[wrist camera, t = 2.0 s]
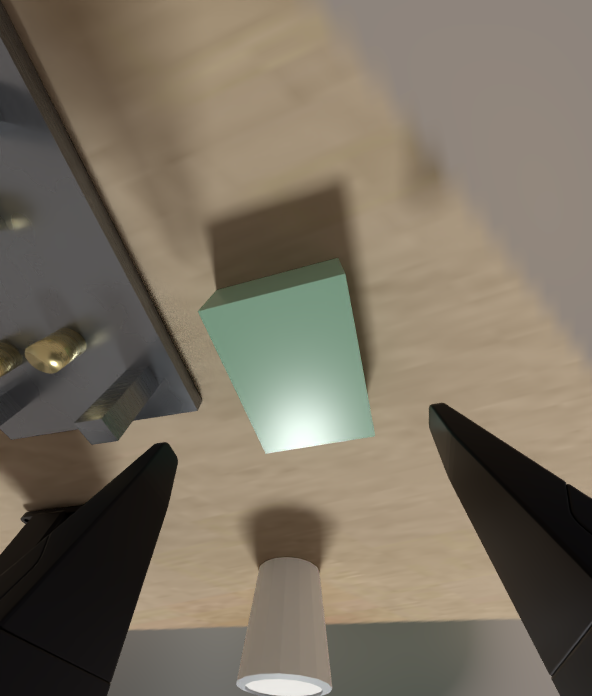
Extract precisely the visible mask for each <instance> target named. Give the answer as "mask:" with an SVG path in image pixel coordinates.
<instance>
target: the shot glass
mask: <svg viewBox="0 0 592 696" xmlns="http://www.w3.org/2000/svg"><path fill="white" fill-rule="evenodd" d="M237 686H238V687H239V688H241V689H242V690H244V691H247V692H250V693H252V694H255V695H259V696H322V695H325V694H328V693H329V692H330V691H331V689H332V682H331V674H330V664H329V655H328V645H327V636H326V627H325V618H324V609H323V600H322V591H321V581H320V572H319V570H318V568H317V566H315V565H314V564H312V563H311V562H309V561H306V560H303V559H300V558H292V557H281V558H273V559H271V560H268V561H265V562H264V563H263V564H262V565H261V566H260V568H259V573H258V578H257V583H256V588H255V593H254V598H253V603H252V608H251V613H250V618H249V623H248V628H247V633H246V638H245V643H244V649H243V653H242V658H241V664H240V668H239V673H238V679H237Z"/></svg>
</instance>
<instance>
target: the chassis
mask: <svg viewBox="0 0 592 696" xmlns="http://www.w3.org/2000/svg"><path fill="white" fill-rule="evenodd" d="M201 402H202V399H201V397H200V395H199V393H198V391H197V389H196V387H195V385H194V383H193V381H192V379H191V377H190V375H189V373H188V371H187V369H186V367H185V365H184V363H183V361H182V359H181V357H180V355H179V353H178V352H177V350H176V348H175V346H174V344H173V342H172V340H171V338H170V336H169V334H168V332H167V330H166V328H165V326H164V324H163V322H162V320H161V318H160V316H159V314H158V312H157V310H156V308H155V306H154V304H153V302H152V300H151V298H150V296H149V294H148V292H147V290H146V288H145V286H144V284H143V282H142V280H141V278H140V276H139V274H138V272H137V270H136V268H135V266H134V264H133V262H132V260H131V258H130V256H129V254H128V252H127V250H126V249H125V247H124V245H123V243H122V241H121V239H120V237H119V235H118V233H117V231H116V229H115V227H114V225H113V223H112V221H111V219H110V217H109V215H108V213H107V211H106V209H105V207H104V205H103V203H102V201H101V199H100V197H99V195H98V193H97V191H96V189H95V187H94V185H93V183H92V181H91V179H90V177H89V175H88V173H87V171H86V169H85V167H84V165H83V163H82V161H81V159H80V157H79V155H78V153H77V151H76V149H75V147H74V146H73V144H72V142H71V140H70V138H69V136H68V134H67V132H66V130H65V128H64V126H63V124H62V122H61V120H60V118H59V116H58V114H57V112H56V110H55V108H54V106H53V104H52V102H51V100H50V98H49V96H48V94H47V92H46V90H45V88H44V86H43V84H42V82H41V80H40V78H39V76H38V74H37V72H36V70H35V68H34V66H33V64H32V62H31V60H30V58H29V56H28V54H27V52H26V50H25V48H24V46H23V44H22V43H21V41H20V39H19V37H18V35H17V33H16V31H15V29H14V27H13V25H12V23H11V21H10V19H9V17H8V15H7V13H6V11H5V9H4V7H3V5H2V3H1V1H0V429H1V430H2V431H3V432H4V433H5V434H6V435H7V436H8V437H9V438H10V439H11V440H12V439H19V438H25V437H32V436H38V435H44V434H51V433H57V432H64V431H70V430H76V429H79V430H80V432H81V433H82V434H83V435H84V436H85V437H86V439H87V440H88V441H89V442H90V443H91V445H93V444H100V443H107V442H113V441H118V440H119V439H120V437H121V436H122V435H123V433H124V432H125V431H126V429H127V428H128V427H129V425H130V424H131V423H132V421H134V420H141V419H147V418H153V417H160V416H166V415H173V414H179V413H185V412H192V411H198V409H199V407H200V405H201Z"/></svg>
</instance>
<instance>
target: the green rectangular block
mask: <svg viewBox="0 0 592 696" xmlns="http://www.w3.org/2000/svg"><path fill="white" fill-rule="evenodd" d="M198 313H199V315H200V317H201V319H202V321H203V323H204V325H205V327H206V329H207V331H208V334H209V336H210V338H211V340H212V342H213V344H214V346H215V348H216V350H217V352H218V355H219V357H220V359H221V361H222V363H223V365H224V367H225V369H226V371H227V373H228V375H229V378H230V380H231V382H232V384H233V386H234V388H235V390H236V392H237V394H238V396H239V399H240V401H241V403H242V405H243V407H244V409H245V411H246V413H247V415H248V417H249V420H250V422H251V424H252V426H253V428H254V430H255V432H256V434H257V436H258V438H259V441H260V443H261V445H262V447H263V449H264V451H265V453H273V452H279V451H285V450H292V449H298V448H304V447H310V446H317V445H323V444H329V443H335V442H342V441H348V440H354V439H361V438H367V437H373V436H375V433H374V427H373V422H372V416H371V411H370V405H369V400H368V395H367V389H366V384H365V378H364V373H363V367H362V362H361V356H360V351H359V346H358V340H357V335H356V329H355V324H354V318H353V313H352V308H351V302H350V297H349V291H348V286H347V280H346V275H345V272H344V270H343V268H342V265H341V263H340V261H339V259H338V258H335V259H331V260H328V261H324V262H320V263H316V264H313V265H309V266H305V267H301V268H298V269H294V270H290V271H286V272H283V273H279V274H275V275H271V276H268V277H264V278H260V279H256V280H253V281H249V282H245V283H241V284H238V285H234V286H230V287H226V288H223V289H219V290H216V291H215V292H214V294H213V295H212V296H211V297H210V298H209V299H208V300H207V302H206V303H205V304H204V305H203V306H202V307H201V308H200V310H199V311H198Z"/></svg>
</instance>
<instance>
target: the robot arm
mask: <svg viewBox="0 0 592 696" xmlns="http://www.w3.org/2000/svg"><path fill="white" fill-rule="evenodd" d="M429 428H430V431H431V434H432V436H433V439H434V442H435V444H436V447H437V449H438V452H439V455H440V457H441V460H442V463H443V465H444V468H445V470H446V473H447V475H448V478H449V480H450V482H451V484H452V486H453V488H454V490H455V492H456V494H457V496H458V497H459V499H460V501H461V503H462V505H463V507H464V509H465V511H466V513H467V515H468V517H469V519H470V521H471V523H472V525H473V527H474V529H475V531H476V533H477V534H478V536H479V538H480V540H481V542H482V544H483V546H484V548H485V550H486V552H487V554H488V556H489V558H490V560H491V562H492V564H493V566H494V568H495V569H496V571H497V573H498V575H499V577H500V579H501V581H502V583H503V585H504V587H505V589H506V591H507V593H508V595H509V597H510V599H511V601H512V603H513V604H514V606H515V608H516V610H517V612H518V614H519V616H520V618H521V620H522V622H523V624H524V626H525V628H526V630H527V632H528V634H529V636H530V638H531V639H532V641H533V643H534V645H535V647H536V649H537V651H538V653H539V655H540V657H541V659H542V661H543V663H544V665H545V667H546V669H547V671H548V672H549V674H550V675H551V676H552V681H553V683H554V684H555V687H556V689H557V690H558V692H559V694H560V696H592V498H590V497H588V496H587V495H585V494H584V493H582V492H581V491H579V490H578V489H576V488H575V487H573V486H571V485H570V484H567V485H566V482H565V481H564V480H562V479H560V478H559V477H557V476H556V475H554V474H553V473H551V472H550V471H548V470H547V469H545V468H543V467H542V466H540V465H539V464H537V463H536V462H534V461H533V460H531V459H530V458H528V457H527V456H525V455H523V454H522V453H520V452H519V451H517V450H516V449H514V448H513V447H511V446H510V445H508V444H507V443H505V442H503V441H502V440H500V439H499V438H497V437H496V436H494V435H493V434H491V433H490V432H488V431H486V430H485V429H483V428H482V427H480V426H479V425H477V424H476V423H474V422H473V421H471V420H470V419H468V418H466V417H465V416H463V415H462V414H460V413H459V412H457V411H456V410H454V409H453V408H451V407H450V406H448V405H446V404H445V403H437V404H431V405H430V406H429ZM177 465H178V459H177V456H176V454H175V453H174V451H173V450H172V448H171V447H170V445H169V444H168V443H167V442H163V443H157V444H154V445H153V446H152V447H151V448H149V449H148V450H147V451H146V452H145V453H144V454H142V455H141V456H140V457H139V458H138V459H137V460H135V461H134V462H133V463H132V464H131V465H130V466H128V467H127V468H126V469H125V470H124V471H123V472H121V473H120V474H119V475H118V476H117V477H116V478H114V479H113V480H112V481H111V482H110V483H109V484H107V485H106V486H105V487H104V488H103V489H102V490H100V491H99V492H98V493H97V494H96V495H95V496H93V497H92V498H91V499H90V500H89V501H88V502H86V503H85V504H84V505H83V506H76V507H67V508H59V509H50V510H41V511H32V512H26V513H25V514H24V515H23V516H22V518H21V521H22V522H24V523H25V524H26V525H25V526H24V527H23V528H22V529H21V531H20V532H19V533H18V534H17V535H16V537H15V538H14V539H13V540H12V541H11V543H10V544H9V545H8V546H7V547H6V549H5V550H4V551H3V552H2V553H1V555H0V696H107V694H108V691H109V688H110V682H111V681H112V678H113V675H114V671H115V669H116V666H117V663H118V659H119V656H120V653H121V650H122V647H123V644H124V641H125V638H126V634H127V632H128V629H129V626H130V623H131V619H132V616H133V613H134V610H135V607H136V604H137V601H138V598H139V595H140V592H141V589H142V586H143V582H144V579H145V576H146V573H147V570H148V567H149V564H150V561H151V558H152V555H153V552H154V549H155V545H156V542H157V539H158V536H159V533H160V530H161V527H162V524H163V521H164V518H165V515H166V511H167V508H168V504H169V500H170V496H171V492H172V487H173V483H174V478H175V474H176V469H177Z"/></svg>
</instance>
